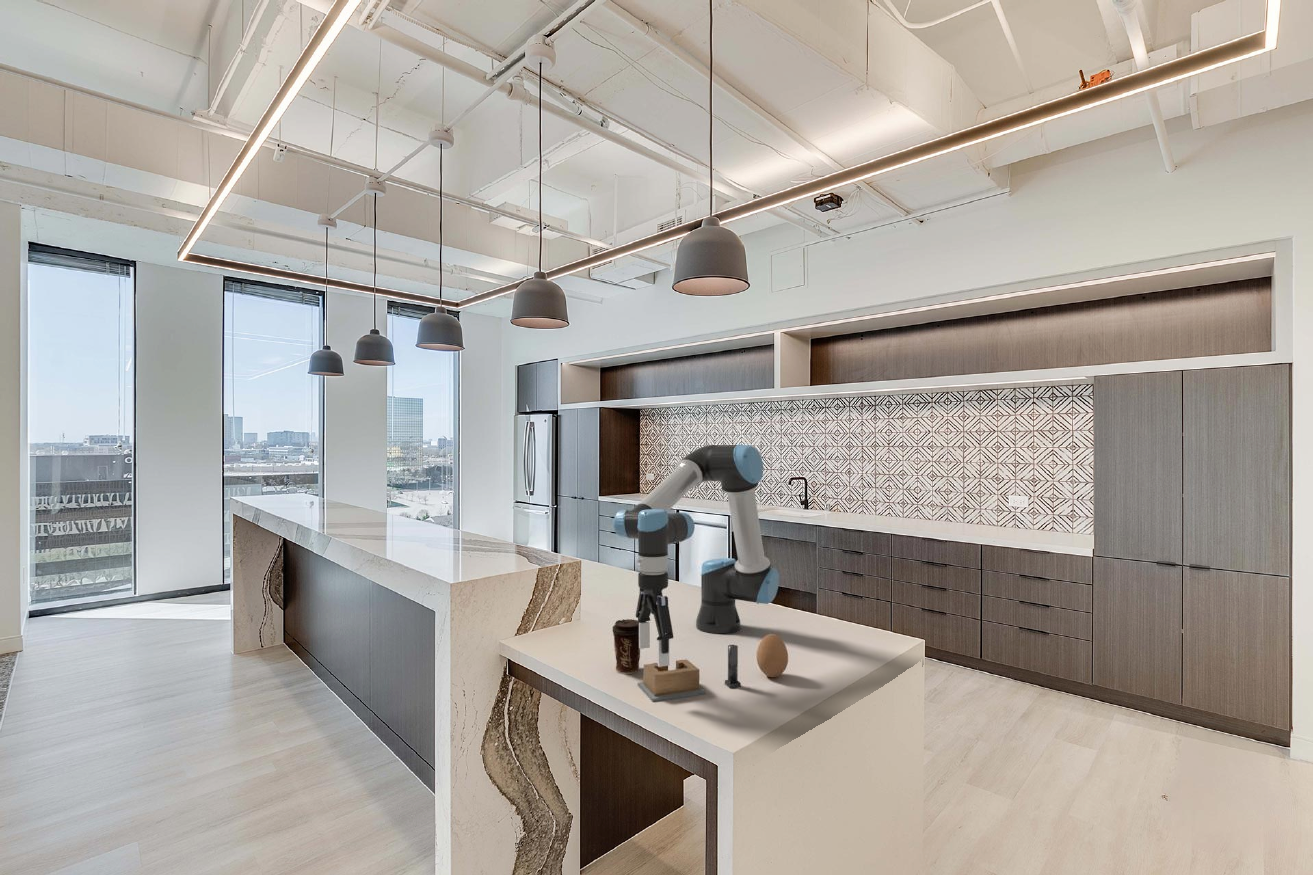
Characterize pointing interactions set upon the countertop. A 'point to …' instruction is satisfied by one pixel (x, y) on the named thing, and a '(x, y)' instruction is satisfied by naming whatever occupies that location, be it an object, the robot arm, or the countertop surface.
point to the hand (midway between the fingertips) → (653, 656)
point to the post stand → (732, 667)
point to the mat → (670, 696)
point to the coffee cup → (626, 646)
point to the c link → (671, 678)
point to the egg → (772, 655)
